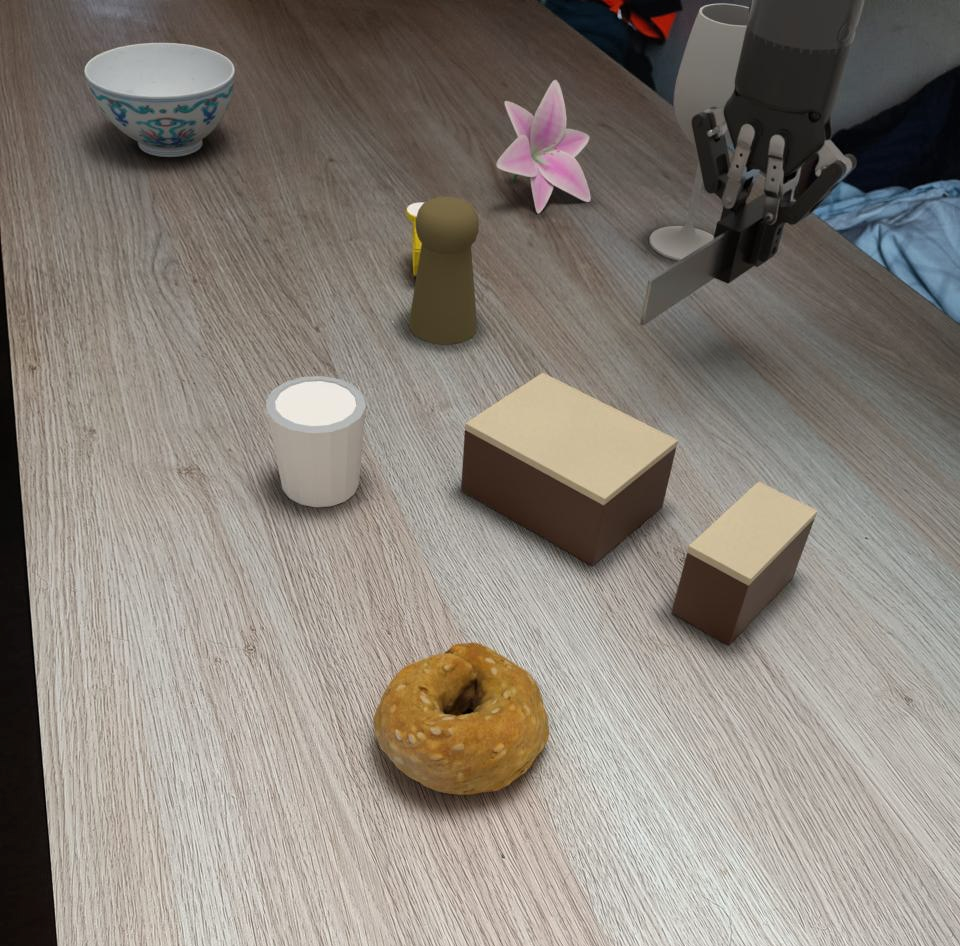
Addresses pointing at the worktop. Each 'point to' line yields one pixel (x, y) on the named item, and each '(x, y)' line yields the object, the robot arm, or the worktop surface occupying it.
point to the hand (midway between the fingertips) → (743, 255)
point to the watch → (414, 234)
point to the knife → (707, 261)
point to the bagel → (462, 720)
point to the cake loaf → (567, 466)
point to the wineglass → (703, 103)
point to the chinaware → (162, 93)
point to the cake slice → (742, 562)
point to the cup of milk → (317, 438)
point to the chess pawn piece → (445, 272)
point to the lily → (546, 149)
